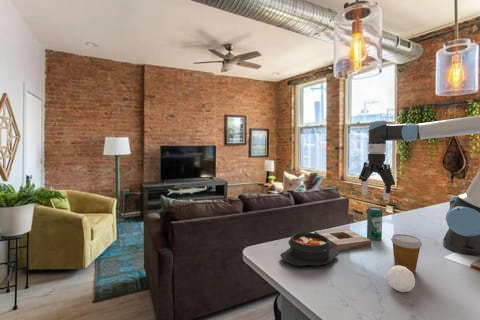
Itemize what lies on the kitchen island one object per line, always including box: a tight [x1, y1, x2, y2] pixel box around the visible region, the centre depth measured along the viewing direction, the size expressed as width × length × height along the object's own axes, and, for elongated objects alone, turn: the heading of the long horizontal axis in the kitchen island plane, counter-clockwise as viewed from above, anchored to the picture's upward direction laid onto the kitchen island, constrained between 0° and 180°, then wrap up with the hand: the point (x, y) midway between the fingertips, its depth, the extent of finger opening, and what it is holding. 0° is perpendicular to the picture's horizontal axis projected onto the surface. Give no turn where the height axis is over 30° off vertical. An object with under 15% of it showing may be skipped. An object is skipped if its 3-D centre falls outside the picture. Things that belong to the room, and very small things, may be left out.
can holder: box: [313, 227, 372, 252], centre depth 123 cm, size 18×18×3 cm
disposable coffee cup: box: [390, 233, 423, 274], centre depth 96 cm, size 10×10×12 cm
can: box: [366, 206, 383, 242], centre depth 127 cm, size 6×6×15 cm
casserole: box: [279, 232, 339, 267], centre depth 105 cm, size 25×19×8 cm
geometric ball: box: [386, 265, 416, 293], centre depth 83 cm, size 8×8×8 cm
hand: (374, 196), depth 126 cm, fingers open, 13 cm apart
